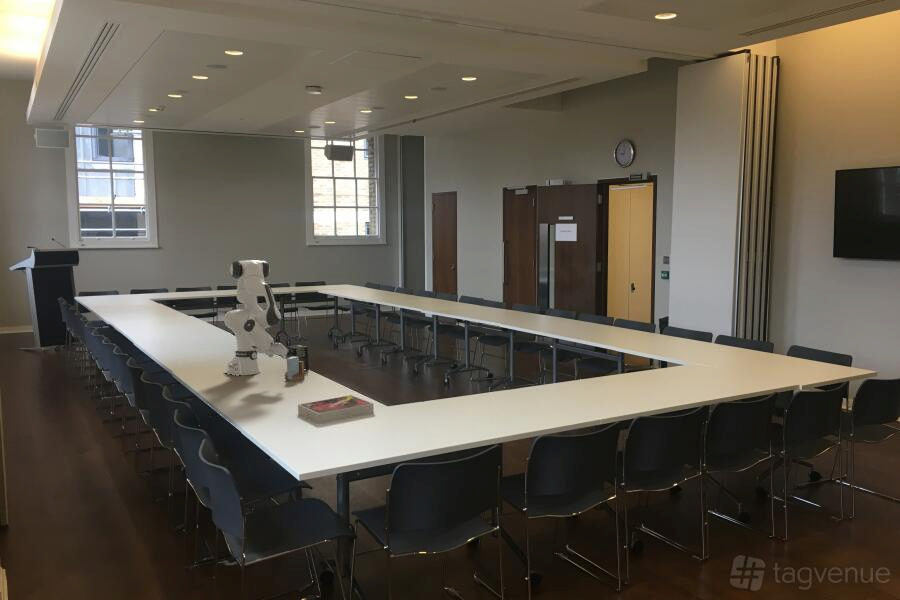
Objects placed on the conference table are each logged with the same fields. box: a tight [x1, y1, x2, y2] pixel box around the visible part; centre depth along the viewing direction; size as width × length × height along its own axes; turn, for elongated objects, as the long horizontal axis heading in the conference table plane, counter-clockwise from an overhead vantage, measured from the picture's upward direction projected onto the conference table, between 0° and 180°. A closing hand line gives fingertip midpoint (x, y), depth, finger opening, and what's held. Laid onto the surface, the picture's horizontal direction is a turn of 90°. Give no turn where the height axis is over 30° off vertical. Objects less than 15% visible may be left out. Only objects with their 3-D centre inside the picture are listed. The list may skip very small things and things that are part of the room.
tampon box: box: [286, 344, 310, 371], centre depth 437 cm, size 11×9×15 cm
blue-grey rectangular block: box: [286, 357, 299, 380], centre depth 409 cm, size 4×6×12 cm, turn 151°
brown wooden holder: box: [284, 361, 305, 382], centre depth 410 cm, size 6×9×10 cm
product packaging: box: [297, 394, 375, 425], centre depth 336 cm, size 22×28×5 cm
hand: (278, 357), depth 398 cm, fingers open, 8 cm apart
